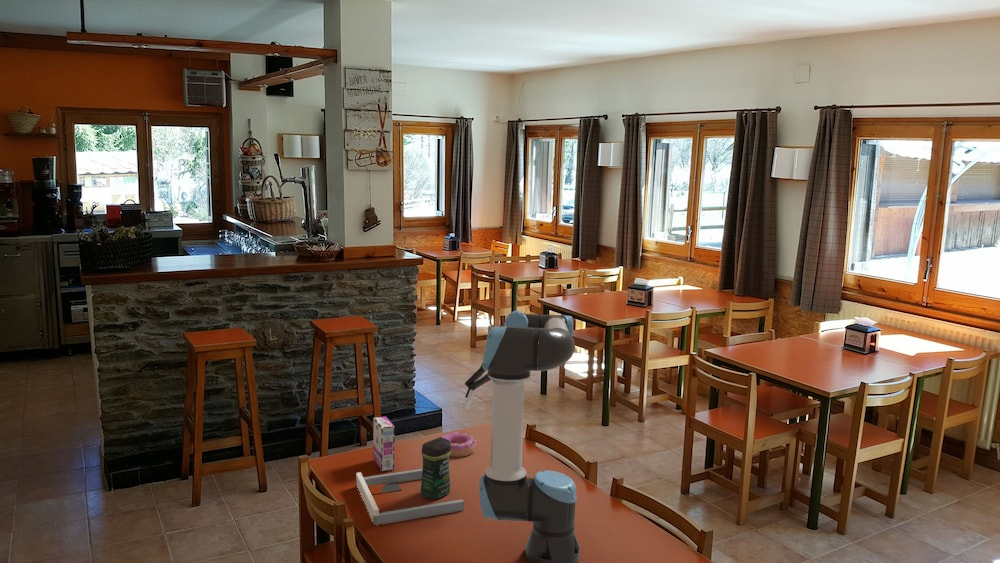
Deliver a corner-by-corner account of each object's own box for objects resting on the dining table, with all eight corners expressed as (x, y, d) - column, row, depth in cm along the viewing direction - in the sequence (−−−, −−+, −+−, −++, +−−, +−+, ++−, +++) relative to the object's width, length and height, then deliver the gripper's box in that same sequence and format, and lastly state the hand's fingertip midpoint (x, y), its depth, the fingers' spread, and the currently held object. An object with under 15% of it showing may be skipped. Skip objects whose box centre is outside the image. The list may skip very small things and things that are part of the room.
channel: (463, 510, 228) (464, 495, 227) (374, 525, 217) (373, 510, 216) (438, 474, 252) (438, 461, 251) (356, 486, 242) (356, 472, 241)
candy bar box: (395, 470, 255) (395, 426, 252) (381, 472, 252) (381, 428, 250) (386, 458, 265) (386, 415, 262) (372, 460, 262) (372, 417, 260)
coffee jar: (434, 503, 232) (435, 448, 229) (416, 495, 237) (417, 441, 233) (454, 492, 239) (455, 439, 236) (437, 485, 244) (437, 433, 241)
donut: (447, 461, 263) (448, 448, 263) (432, 447, 276) (432, 434, 275) (482, 454, 270) (483, 441, 269) (466, 440, 283) (466, 428, 282)
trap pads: (416, 516, 223) (416, 515, 223) (384, 521, 220) (384, 520, 220) (397, 482, 245) (397, 482, 245) (367, 487, 241) (367, 486, 241)
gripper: (542, 369, 241) (518, 430, 237) (480, 348, 253) (457, 405, 249) (534, 364, 234) (509, 426, 231) (471, 342, 246) (447, 401, 243)
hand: (482, 415), depth 240 cm, fingers open, 13 cm apart
